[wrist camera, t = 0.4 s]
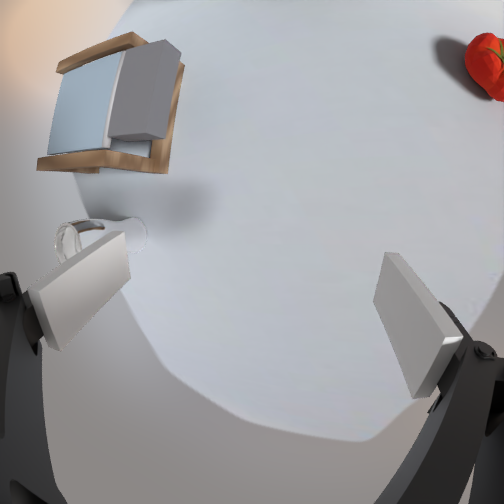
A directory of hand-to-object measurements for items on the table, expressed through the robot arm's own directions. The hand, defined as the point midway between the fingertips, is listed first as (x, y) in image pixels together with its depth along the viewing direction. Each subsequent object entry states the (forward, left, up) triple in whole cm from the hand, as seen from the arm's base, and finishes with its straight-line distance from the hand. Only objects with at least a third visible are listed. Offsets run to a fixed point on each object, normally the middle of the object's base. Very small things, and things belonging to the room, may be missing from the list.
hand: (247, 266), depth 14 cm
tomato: (-29, +28, -26) cm, 48 cm away
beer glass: (+5, -27, -26) cm, 38 cm away
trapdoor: (-15, -27, -16) cm, 34 cm away
